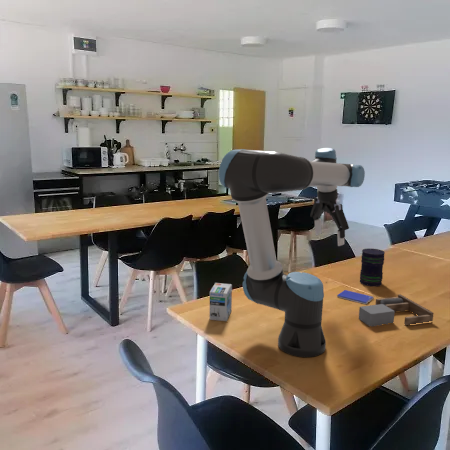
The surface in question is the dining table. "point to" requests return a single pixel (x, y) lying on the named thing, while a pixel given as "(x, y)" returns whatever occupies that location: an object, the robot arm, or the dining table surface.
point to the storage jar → (372, 267)
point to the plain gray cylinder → (391, 301)
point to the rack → (408, 304)
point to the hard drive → (355, 297)
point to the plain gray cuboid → (376, 315)
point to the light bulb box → (220, 301)
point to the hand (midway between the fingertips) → (329, 239)
